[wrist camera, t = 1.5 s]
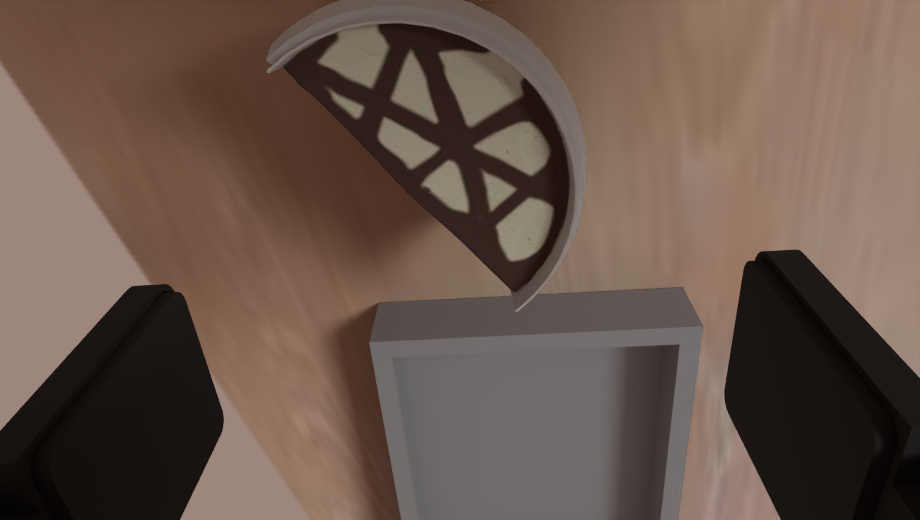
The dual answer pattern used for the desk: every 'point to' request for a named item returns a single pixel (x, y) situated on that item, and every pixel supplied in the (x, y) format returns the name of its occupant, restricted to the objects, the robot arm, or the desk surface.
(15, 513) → the robot arm
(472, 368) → the parts tray
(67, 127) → the desk surface
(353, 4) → the food container
